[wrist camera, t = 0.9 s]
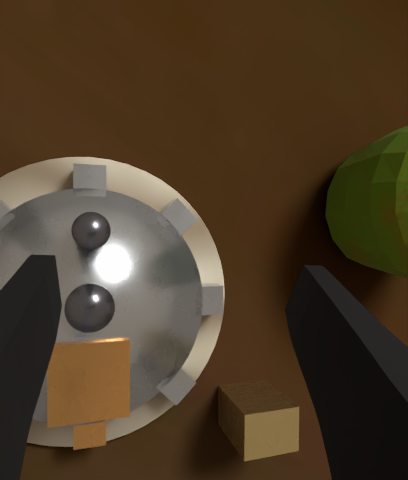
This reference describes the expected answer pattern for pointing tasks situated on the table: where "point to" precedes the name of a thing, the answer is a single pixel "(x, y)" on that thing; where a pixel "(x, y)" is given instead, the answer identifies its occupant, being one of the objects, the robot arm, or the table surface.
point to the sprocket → (110, 300)
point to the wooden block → (258, 419)
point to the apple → (373, 205)
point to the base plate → (158, 197)
